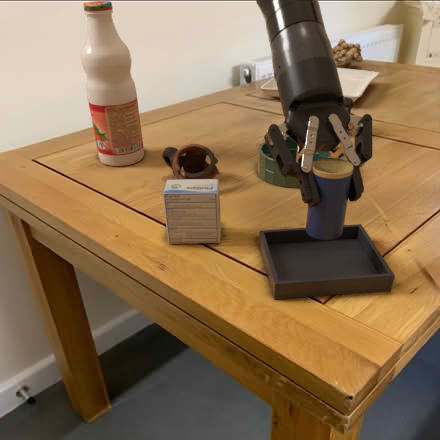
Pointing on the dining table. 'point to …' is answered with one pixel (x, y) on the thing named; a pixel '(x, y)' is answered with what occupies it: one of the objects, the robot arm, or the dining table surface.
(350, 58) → the mineral formation
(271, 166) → the bowl
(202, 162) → the pottery mug
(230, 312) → the dining table surface
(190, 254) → the dining table surface
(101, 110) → the fruit juice
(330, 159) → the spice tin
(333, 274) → the tray
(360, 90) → the square plate
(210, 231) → the medicine box
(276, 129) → the robot arm
